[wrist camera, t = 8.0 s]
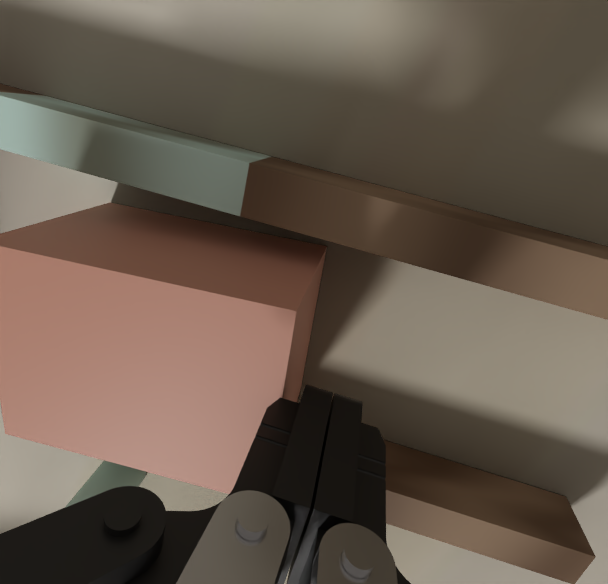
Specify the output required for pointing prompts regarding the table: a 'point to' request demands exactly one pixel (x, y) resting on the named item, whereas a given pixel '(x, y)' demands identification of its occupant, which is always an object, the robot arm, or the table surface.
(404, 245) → the slot track
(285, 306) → the block
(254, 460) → the robot arm
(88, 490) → the post
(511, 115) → the table surface
